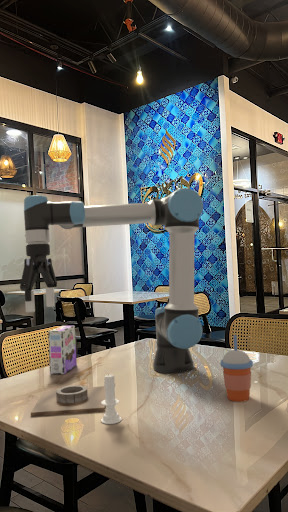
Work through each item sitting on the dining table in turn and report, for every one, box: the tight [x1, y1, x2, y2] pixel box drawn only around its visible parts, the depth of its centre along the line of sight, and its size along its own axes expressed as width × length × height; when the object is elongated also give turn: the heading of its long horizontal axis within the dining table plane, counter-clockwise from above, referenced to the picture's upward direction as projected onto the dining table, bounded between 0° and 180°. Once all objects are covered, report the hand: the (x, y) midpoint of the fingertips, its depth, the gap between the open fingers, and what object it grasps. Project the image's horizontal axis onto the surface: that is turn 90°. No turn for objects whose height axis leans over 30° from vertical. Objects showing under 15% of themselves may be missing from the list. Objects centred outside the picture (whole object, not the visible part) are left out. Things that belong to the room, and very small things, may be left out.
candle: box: [100, 373, 123, 425], centre depth 107 cm, size 5×5×12 cm
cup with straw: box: [220, 334, 254, 403], centre depth 119 cm, size 9×9×18 cm
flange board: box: [30, 384, 106, 417], centre depth 123 cm, size 20×20×4 cm
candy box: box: [47, 325, 78, 375], centre depth 162 cm, size 14×6×16 cm, turn 168°
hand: (41, 309), depth 134 cm, fingers open, 13 cm apart
